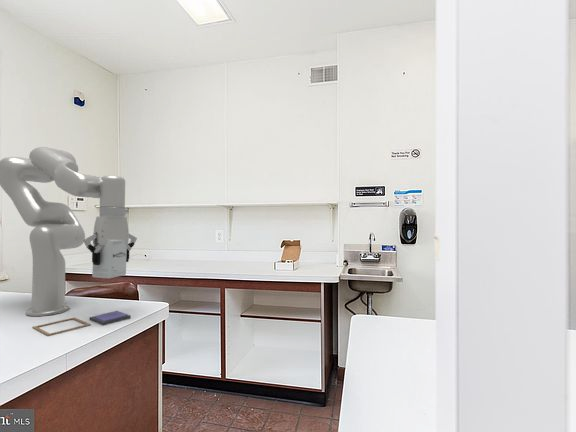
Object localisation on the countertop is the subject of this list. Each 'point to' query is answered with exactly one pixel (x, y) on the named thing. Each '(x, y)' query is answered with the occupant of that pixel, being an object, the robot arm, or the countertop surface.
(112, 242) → the supplement box
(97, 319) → the ink pad
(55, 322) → the tan picture frame
